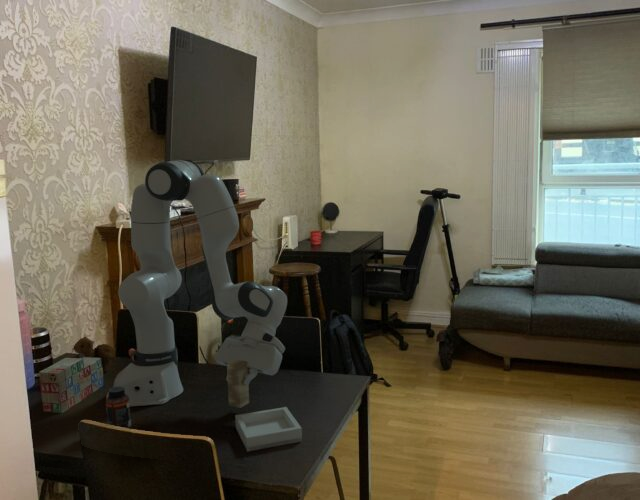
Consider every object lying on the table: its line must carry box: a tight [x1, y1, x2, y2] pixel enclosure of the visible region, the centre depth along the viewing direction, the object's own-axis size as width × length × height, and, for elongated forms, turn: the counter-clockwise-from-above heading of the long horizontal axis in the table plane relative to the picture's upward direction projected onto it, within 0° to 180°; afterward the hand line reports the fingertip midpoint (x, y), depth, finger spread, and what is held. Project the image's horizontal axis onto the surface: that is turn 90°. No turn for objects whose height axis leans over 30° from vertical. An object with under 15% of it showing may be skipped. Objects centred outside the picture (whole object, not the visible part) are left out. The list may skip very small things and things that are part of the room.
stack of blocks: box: [38, 357, 105, 414], centre depth 185 cm, size 21×6×12 cm, turn 166°
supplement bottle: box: [105, 386, 132, 429], centre depth 163 cm, size 6×6×11 cm
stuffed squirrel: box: [70, 335, 117, 374], centre depth 205 cm, size 10×14×13 cm
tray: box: [234, 406, 303, 452], centre depth 158 cm, size 14×14×4 cm
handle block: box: [226, 360, 250, 409], centre depth 171 cm, size 4×4×12 cm
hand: (236, 382), depth 170 cm, fingers closed on handle block, 4 cm apart
